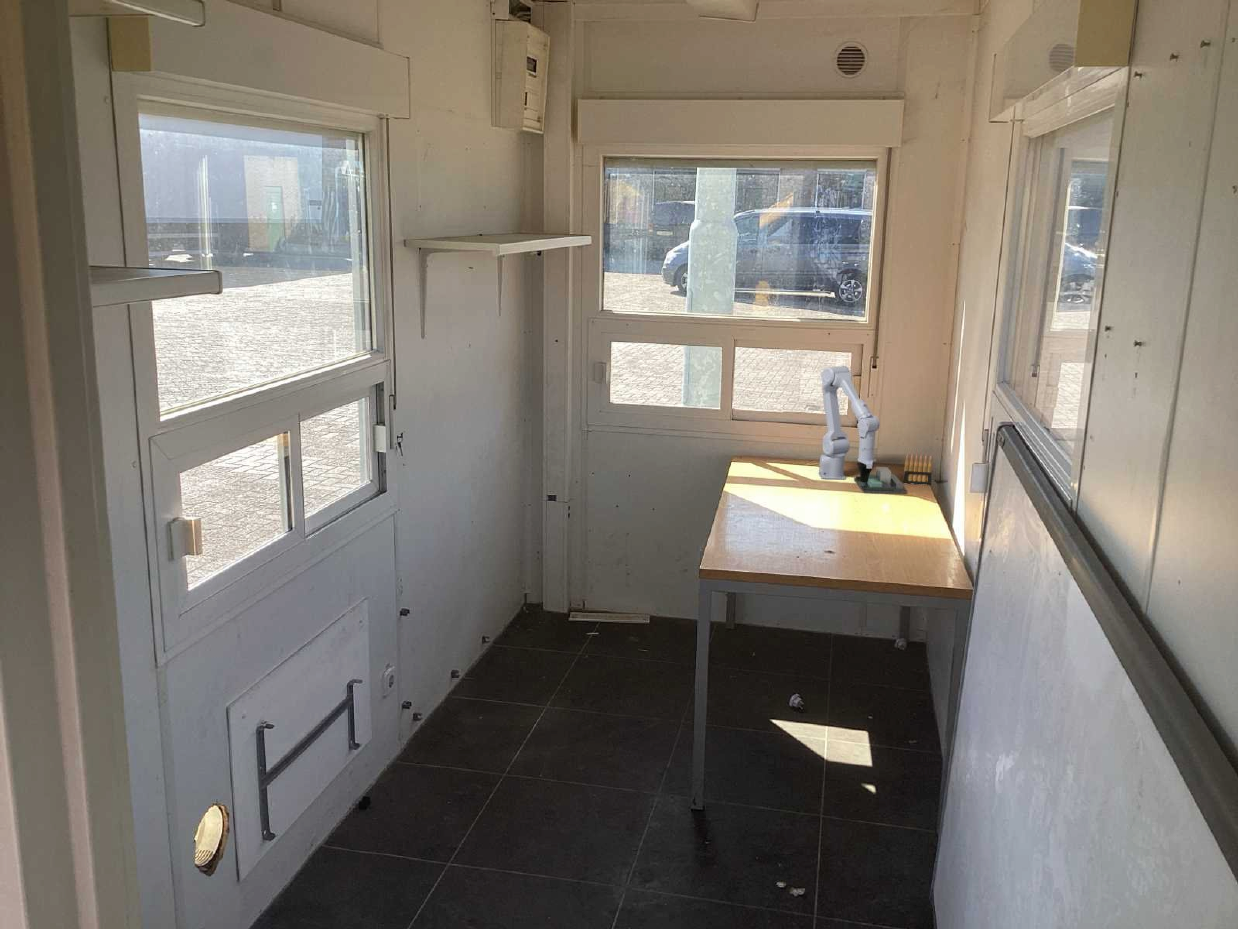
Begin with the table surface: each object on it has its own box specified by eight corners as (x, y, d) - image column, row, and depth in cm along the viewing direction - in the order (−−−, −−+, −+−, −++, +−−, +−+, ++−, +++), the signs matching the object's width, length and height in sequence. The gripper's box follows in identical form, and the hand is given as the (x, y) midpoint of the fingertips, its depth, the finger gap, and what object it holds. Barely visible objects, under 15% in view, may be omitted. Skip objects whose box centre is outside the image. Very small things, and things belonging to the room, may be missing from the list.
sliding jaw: (871, 488, 411) (871, 483, 410) (863, 478, 424) (863, 473, 424) (881, 488, 411) (882, 483, 410) (873, 478, 424) (873, 473, 424)
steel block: (879, 486, 415) (880, 471, 413) (875, 481, 421) (876, 466, 420) (890, 486, 415) (891, 471, 413) (885, 481, 421) (886, 467, 420)
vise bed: (864, 493, 409) (864, 484, 408) (854, 480, 427) (854, 472, 426) (906, 493, 409) (907, 485, 408) (894, 481, 427) (895, 472, 426)
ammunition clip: (902, 483, 424) (905, 453, 421) (902, 482, 426) (905, 452, 422) (931, 485, 422) (933, 455, 419) (930, 484, 424) (933, 454, 421)
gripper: (881, 452, 407) (878, 487, 410) (872, 443, 421) (870, 477, 424) (862, 452, 407) (860, 487, 410) (854, 443, 421) (852, 476, 424)
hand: (863, 482), depth 417 cm, fingers closed, pressing on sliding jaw
